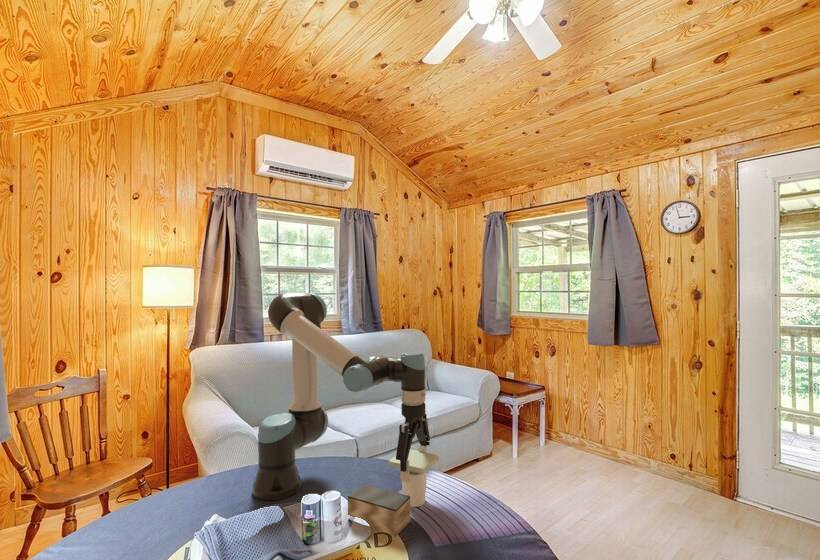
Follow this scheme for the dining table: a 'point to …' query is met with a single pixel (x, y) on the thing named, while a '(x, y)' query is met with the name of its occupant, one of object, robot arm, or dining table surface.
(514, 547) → the dining table surface
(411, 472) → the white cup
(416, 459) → the cover board
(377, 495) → the stand
